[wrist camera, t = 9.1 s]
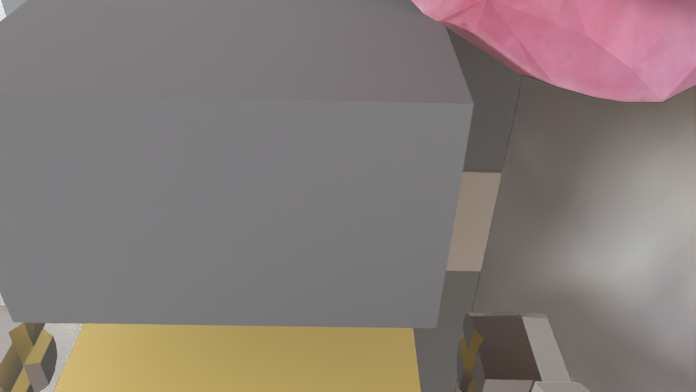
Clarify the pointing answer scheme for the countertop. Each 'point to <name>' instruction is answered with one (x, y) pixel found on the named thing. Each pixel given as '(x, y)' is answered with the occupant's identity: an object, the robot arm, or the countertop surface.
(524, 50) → the flower
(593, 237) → the countertop surface
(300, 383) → the sleeve
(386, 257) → the grey slider rail toy
